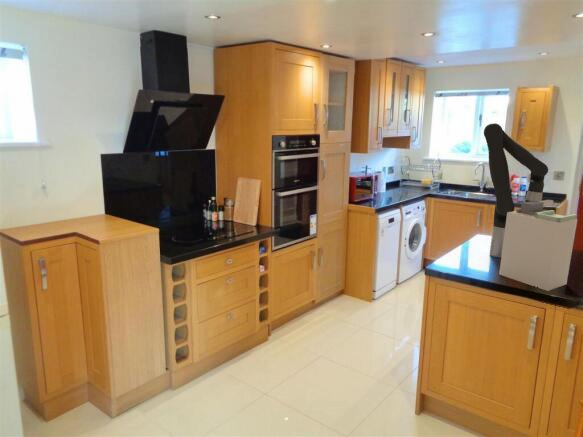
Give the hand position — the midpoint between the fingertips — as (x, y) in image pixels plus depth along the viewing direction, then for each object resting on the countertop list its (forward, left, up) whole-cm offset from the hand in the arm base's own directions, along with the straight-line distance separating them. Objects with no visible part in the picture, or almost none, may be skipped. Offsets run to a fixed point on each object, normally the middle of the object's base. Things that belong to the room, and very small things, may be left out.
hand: (527, 228), depth 232 cm
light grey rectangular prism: (+1, -23, +14) cm, 27 cm away
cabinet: (+2, -33, -18) cm, 37 cm away
